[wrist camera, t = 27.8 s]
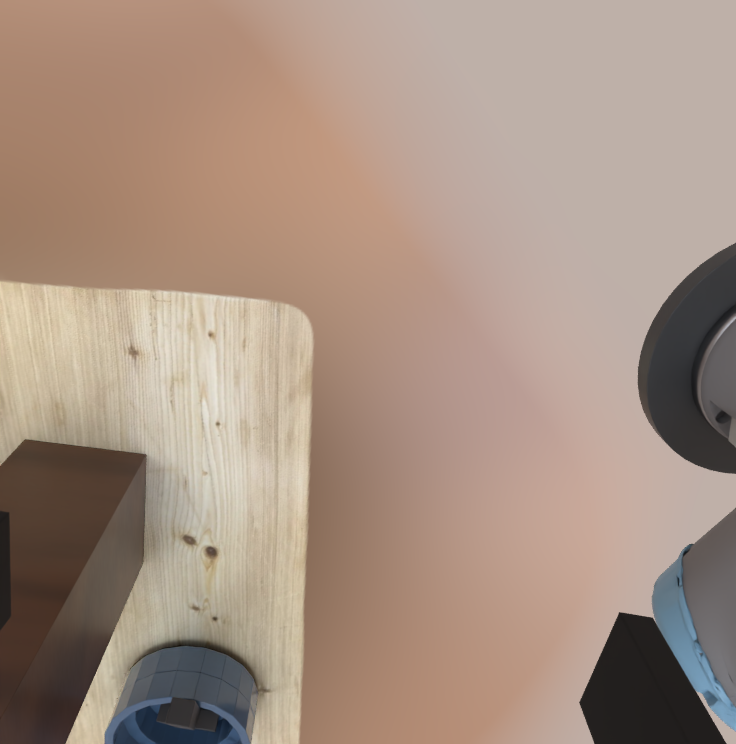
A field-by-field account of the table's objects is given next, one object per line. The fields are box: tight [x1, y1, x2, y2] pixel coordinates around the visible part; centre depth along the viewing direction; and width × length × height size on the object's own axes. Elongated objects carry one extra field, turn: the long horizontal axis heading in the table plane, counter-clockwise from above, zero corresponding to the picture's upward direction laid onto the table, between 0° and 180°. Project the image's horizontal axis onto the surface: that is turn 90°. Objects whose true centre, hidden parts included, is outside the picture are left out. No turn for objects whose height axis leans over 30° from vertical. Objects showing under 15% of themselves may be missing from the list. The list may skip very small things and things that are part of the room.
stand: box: [0, 440, 146, 744], centre depth 40 cm, size 12×10×30 cm
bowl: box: [105, 646, 258, 744], centre depth 61 cm, size 14×14×6 cm
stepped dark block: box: [156, 697, 219, 732], centre depth 55 cm, size 21×6×2 cm
